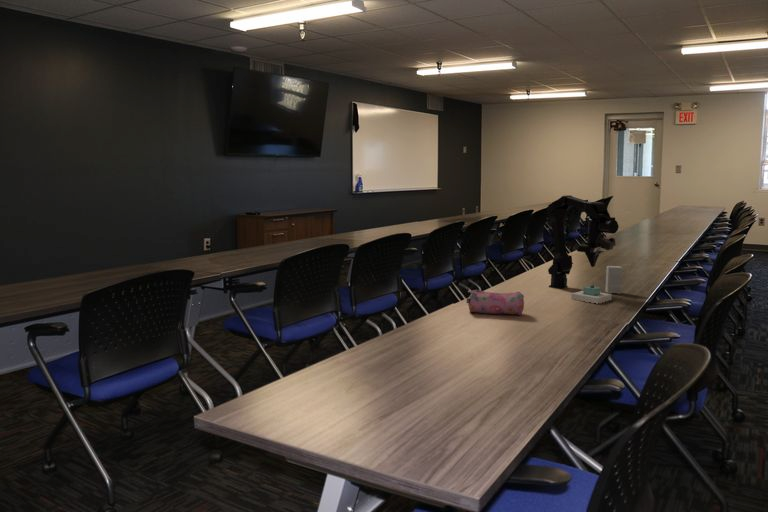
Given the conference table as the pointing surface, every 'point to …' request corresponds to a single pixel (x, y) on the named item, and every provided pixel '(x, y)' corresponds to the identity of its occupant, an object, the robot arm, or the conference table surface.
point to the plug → (591, 290)
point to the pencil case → (495, 302)
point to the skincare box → (613, 279)
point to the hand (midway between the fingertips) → (592, 266)
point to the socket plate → (591, 297)
